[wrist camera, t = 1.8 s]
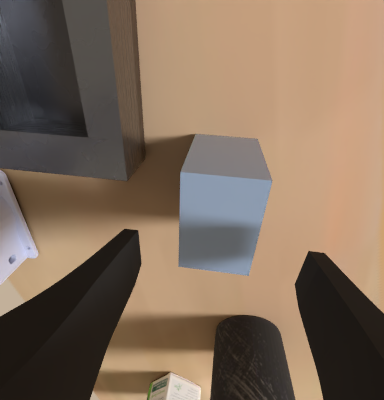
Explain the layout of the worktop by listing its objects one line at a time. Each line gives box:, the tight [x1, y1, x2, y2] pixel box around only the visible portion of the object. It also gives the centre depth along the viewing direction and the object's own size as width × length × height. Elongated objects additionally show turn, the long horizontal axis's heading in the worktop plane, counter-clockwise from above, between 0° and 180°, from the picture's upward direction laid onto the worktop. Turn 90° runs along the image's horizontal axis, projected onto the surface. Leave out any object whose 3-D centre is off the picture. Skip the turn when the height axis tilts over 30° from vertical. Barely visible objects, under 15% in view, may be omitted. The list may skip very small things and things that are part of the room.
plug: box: [179, 134, 272, 276], centre depth 14 cm, size 6×4×6 cm, turn 178°
